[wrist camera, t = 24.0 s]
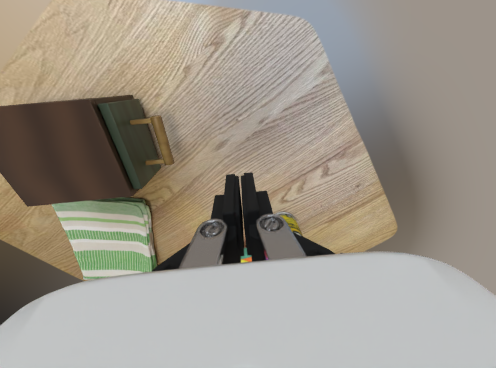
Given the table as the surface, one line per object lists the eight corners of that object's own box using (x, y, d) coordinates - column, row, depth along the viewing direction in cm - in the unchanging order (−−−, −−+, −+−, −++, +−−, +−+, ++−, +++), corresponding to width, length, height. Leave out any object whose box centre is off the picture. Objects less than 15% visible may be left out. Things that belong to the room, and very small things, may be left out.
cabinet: (132, 94, 28) (88, 98, 20) (157, 169, 34) (132, 196, 26) (36, 102, 28) (-50, 110, 20) (78, 176, 34) (27, 206, 26)
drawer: (166, 96, 28) (144, 100, 21) (184, 165, 33) (171, 186, 26) (48, 106, 27) (-14, 113, 21) (86, 174, 33) (47, 197, 26)
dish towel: (150, 197, 37) (144, 205, 35) (161, 272, 48) (157, 282, 46) (52, 191, 35) (39, 199, 33) (87, 271, 46) (79, 281, 43)
